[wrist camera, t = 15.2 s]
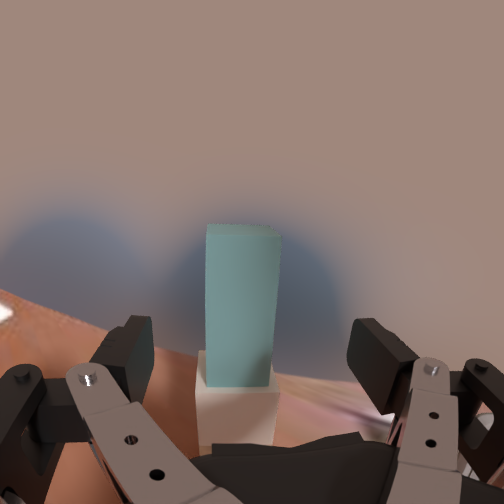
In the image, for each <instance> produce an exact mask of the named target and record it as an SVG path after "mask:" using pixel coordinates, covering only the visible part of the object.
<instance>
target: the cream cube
mask: <svg viewBox="0 0 504 504" xmlns="http://www.w3.org/2000/svg"><path fill="white" fill-rule="evenodd" d="M279 396H280V391H279V387H278V384H277V380H276V377H275V374H274V370H273V367H272V364H271V369H270V379H269V386H264V387H207V381H206V350H199V355H198V365H197V376H196V388H195V399H196V415H197V428H198V441H199V446H212V443H253V444H260V445H271V444H272V443H273V436H274V430H275V423H276V417H277V410H278V403H279Z"/></svg>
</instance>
